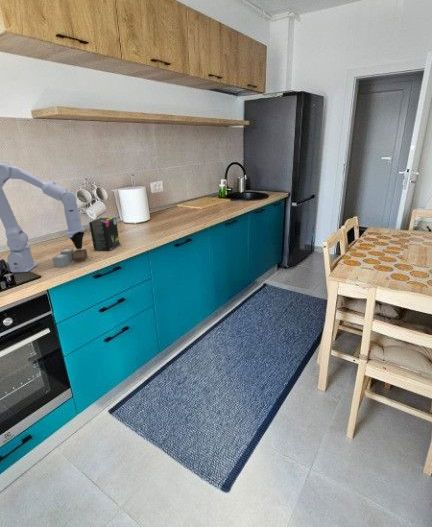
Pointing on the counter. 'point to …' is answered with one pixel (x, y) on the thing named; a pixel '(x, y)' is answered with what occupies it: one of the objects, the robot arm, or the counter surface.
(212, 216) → the counter surface
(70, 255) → the grey dot cube
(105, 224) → the tampon box
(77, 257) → the walnut cube
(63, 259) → the grey dot cube
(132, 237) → the counter surface
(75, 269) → the counter surface
